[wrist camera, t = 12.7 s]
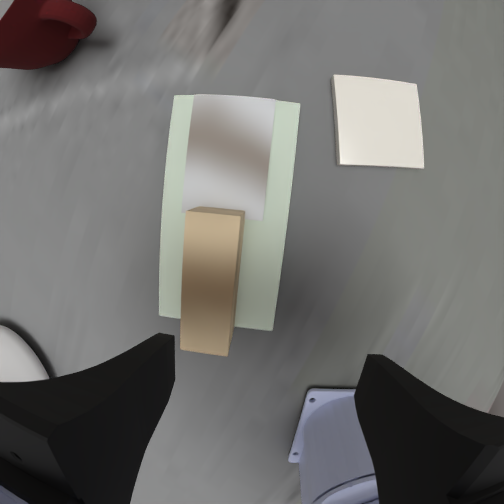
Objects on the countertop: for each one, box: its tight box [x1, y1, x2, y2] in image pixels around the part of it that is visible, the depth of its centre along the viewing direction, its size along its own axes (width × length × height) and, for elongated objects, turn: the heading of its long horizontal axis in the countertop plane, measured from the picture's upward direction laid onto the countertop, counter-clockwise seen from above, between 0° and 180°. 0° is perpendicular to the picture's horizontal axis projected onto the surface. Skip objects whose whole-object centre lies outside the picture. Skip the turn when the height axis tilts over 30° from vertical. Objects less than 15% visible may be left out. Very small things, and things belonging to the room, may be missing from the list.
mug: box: [0, 0, 97, 70], centre depth 12 cm, size 10×8×10 cm
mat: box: [159, 95, 300, 331], centre depth 19 cm, size 15×8×1 cm, turn 174°
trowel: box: [180, 94, 276, 357], centre depth 17 cm, size 15×5×4 cm, turn 174°
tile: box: [331, 75, 424, 169], centre depth 18 cm, size 1×6×6 cm
